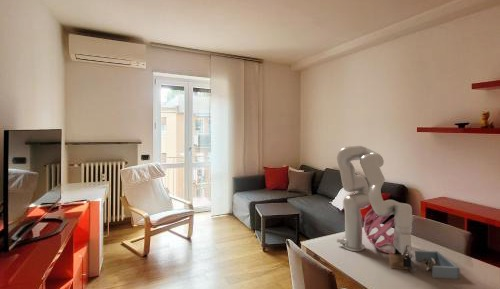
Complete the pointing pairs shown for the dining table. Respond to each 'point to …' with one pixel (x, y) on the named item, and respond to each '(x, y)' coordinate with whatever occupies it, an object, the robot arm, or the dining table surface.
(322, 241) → the dining table surface
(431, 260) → the eagle figurine
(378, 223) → the spiral basket
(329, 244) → the dining table surface
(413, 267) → the brown grey block
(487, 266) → the dining table surface
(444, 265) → the box
